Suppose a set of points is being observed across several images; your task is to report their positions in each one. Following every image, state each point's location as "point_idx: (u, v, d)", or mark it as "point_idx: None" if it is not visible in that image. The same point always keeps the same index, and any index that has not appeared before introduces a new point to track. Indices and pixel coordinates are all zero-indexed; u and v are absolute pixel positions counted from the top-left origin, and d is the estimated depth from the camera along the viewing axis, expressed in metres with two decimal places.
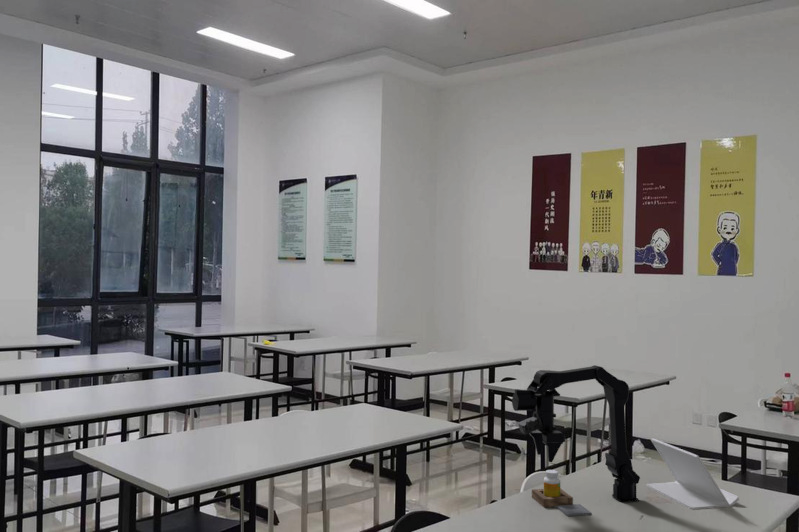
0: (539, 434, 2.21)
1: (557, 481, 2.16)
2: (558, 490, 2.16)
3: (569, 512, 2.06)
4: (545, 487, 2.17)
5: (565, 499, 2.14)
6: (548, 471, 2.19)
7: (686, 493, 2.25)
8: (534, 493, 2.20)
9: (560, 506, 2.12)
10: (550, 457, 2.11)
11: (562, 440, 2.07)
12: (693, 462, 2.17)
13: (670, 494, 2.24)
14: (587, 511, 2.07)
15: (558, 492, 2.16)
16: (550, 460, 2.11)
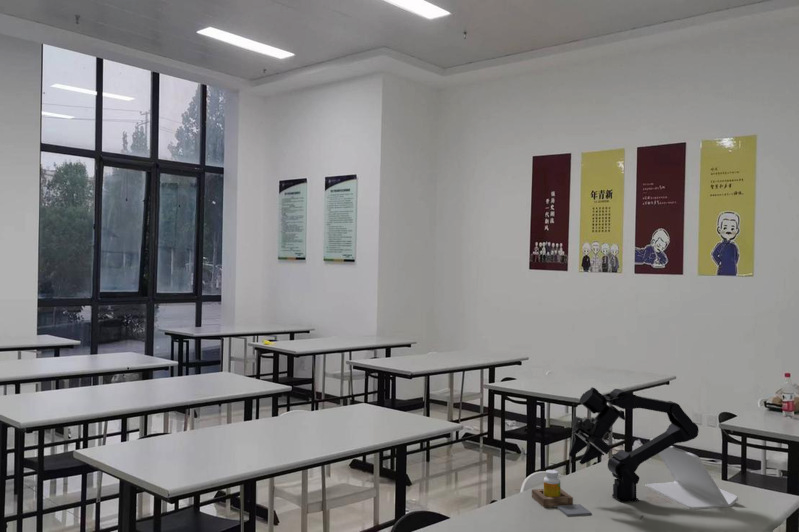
0: (581, 440, 2.25)
1: (557, 481, 2.16)
2: (558, 490, 2.16)
3: (569, 512, 2.06)
4: (545, 487, 2.17)
5: (565, 499, 2.14)
6: (548, 471, 2.19)
7: (685, 493, 2.25)
8: (534, 493, 2.20)
9: (560, 506, 2.12)
10: (583, 460, 2.14)
11: (605, 451, 2.11)
12: (692, 462, 2.16)
13: (669, 494, 2.24)
14: (587, 511, 2.07)
15: (558, 492, 2.16)
16: (581, 462, 2.15)
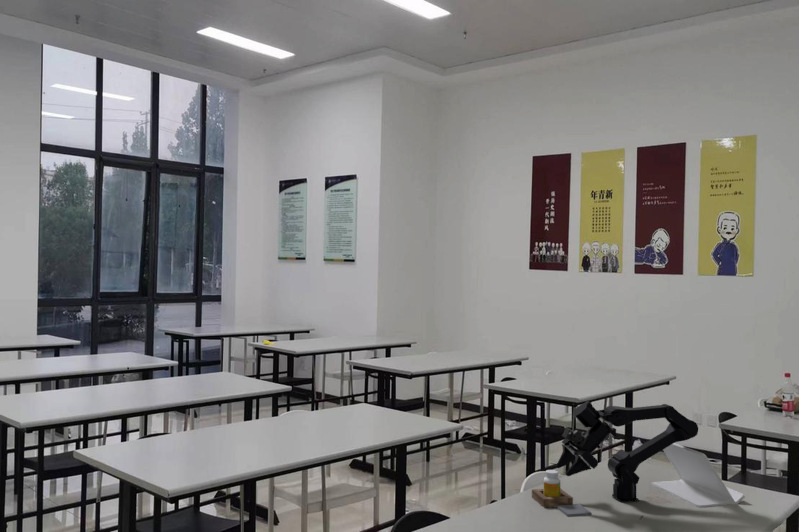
0: (570, 453, 2.25)
1: (557, 481, 2.16)
2: (558, 490, 2.16)
3: (569, 512, 2.06)
4: (545, 487, 2.17)
5: (565, 499, 2.14)
6: (548, 471, 2.19)
7: (692, 491, 2.27)
8: (534, 493, 2.20)
9: (560, 506, 2.12)
10: (570, 472, 2.14)
11: (593, 465, 2.10)
12: (699, 460, 2.19)
13: (676, 492, 2.26)
14: (587, 511, 2.07)
15: (558, 492, 2.16)
16: (567, 474, 2.14)
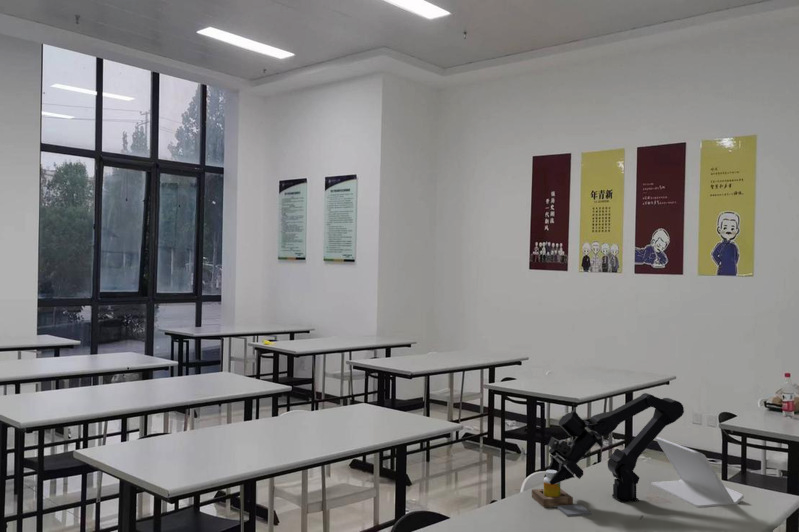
0: (558, 464, 2.22)
1: None
2: (558, 490, 2.16)
3: (569, 512, 2.06)
4: (545, 487, 2.17)
5: (565, 499, 2.14)
6: (548, 471, 2.19)
7: (691, 491, 2.27)
8: (534, 493, 2.20)
9: (560, 506, 2.12)
10: (553, 480, 2.15)
11: (578, 475, 2.10)
12: (698, 460, 2.18)
13: (675, 492, 2.26)
14: (587, 511, 2.07)
15: (558, 492, 2.16)
16: (551, 482, 2.15)
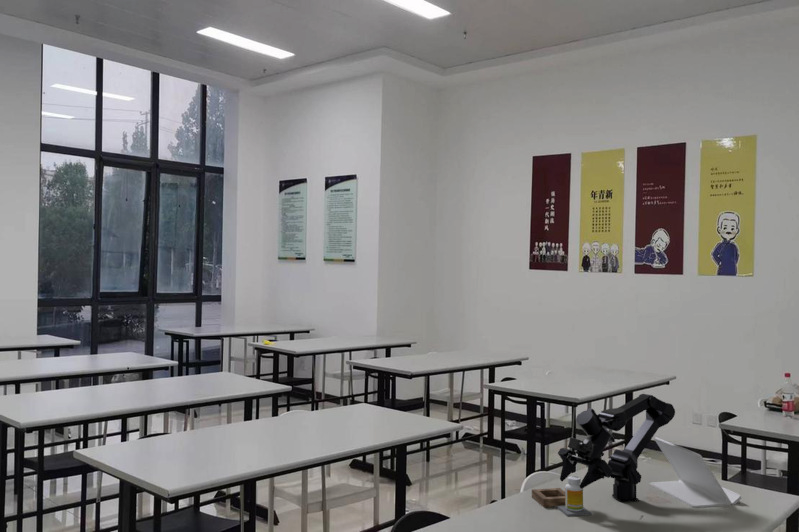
0: (570, 464, 2.15)
1: None
2: (582, 496, 2.08)
3: (569, 512, 2.06)
4: (570, 495, 2.07)
5: None
6: (571, 478, 2.09)
7: (689, 492, 2.27)
8: (534, 493, 2.20)
9: (560, 506, 2.12)
10: (584, 483, 2.05)
11: (609, 474, 2.04)
12: (695, 460, 2.18)
13: (673, 492, 2.26)
14: (587, 511, 2.07)
15: (582, 498, 2.08)
16: (581, 486, 2.05)
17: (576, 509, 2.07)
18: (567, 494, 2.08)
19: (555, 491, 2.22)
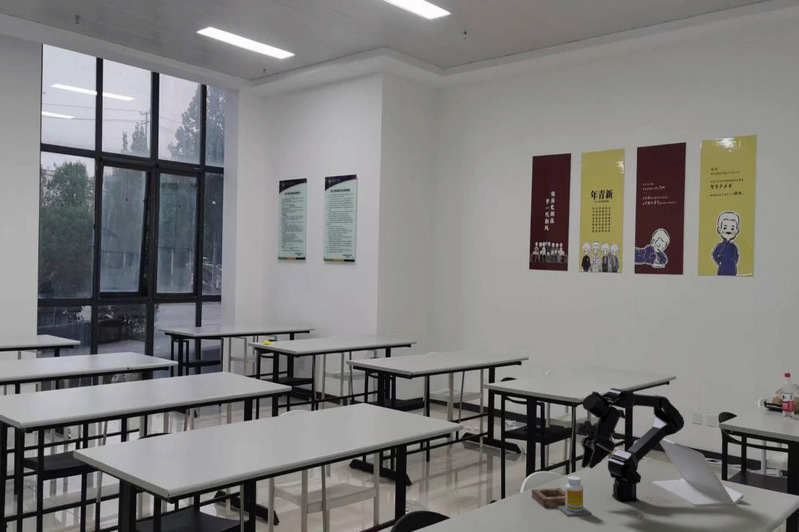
0: (591, 450, 2.21)
1: (582, 487, 2.08)
2: (582, 497, 2.08)
3: (569, 512, 2.06)
4: (570, 495, 2.07)
5: None
6: (571, 478, 2.09)
7: (691, 491, 2.28)
8: (534, 493, 2.20)
9: (560, 506, 2.12)
10: (592, 463, 2.10)
11: (610, 448, 2.07)
12: (697, 459, 2.19)
13: (675, 491, 2.27)
14: (587, 511, 2.07)
15: (582, 499, 2.08)
16: (591, 466, 2.10)
17: (576, 509, 2.07)
18: (567, 494, 2.08)
19: (555, 491, 2.22)
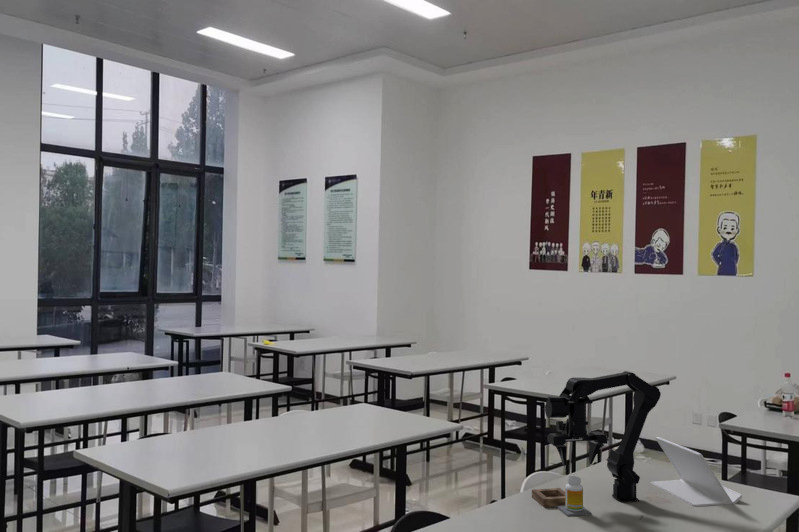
0: (592, 444, 2.19)
1: (582, 487, 2.08)
2: (582, 496, 2.08)
3: (569, 512, 2.06)
4: (570, 495, 2.07)
5: None
6: (571, 478, 2.09)
7: (690, 491, 2.28)
8: (534, 493, 2.20)
9: (560, 506, 2.12)
10: (562, 460, 2.17)
11: (553, 443, 2.15)
12: (696, 460, 2.19)
13: (674, 491, 2.27)
14: (587, 511, 2.07)
15: (582, 499, 2.08)
16: (563, 464, 2.17)
17: (576, 509, 2.07)
18: (567, 494, 2.08)
19: (555, 491, 2.22)
